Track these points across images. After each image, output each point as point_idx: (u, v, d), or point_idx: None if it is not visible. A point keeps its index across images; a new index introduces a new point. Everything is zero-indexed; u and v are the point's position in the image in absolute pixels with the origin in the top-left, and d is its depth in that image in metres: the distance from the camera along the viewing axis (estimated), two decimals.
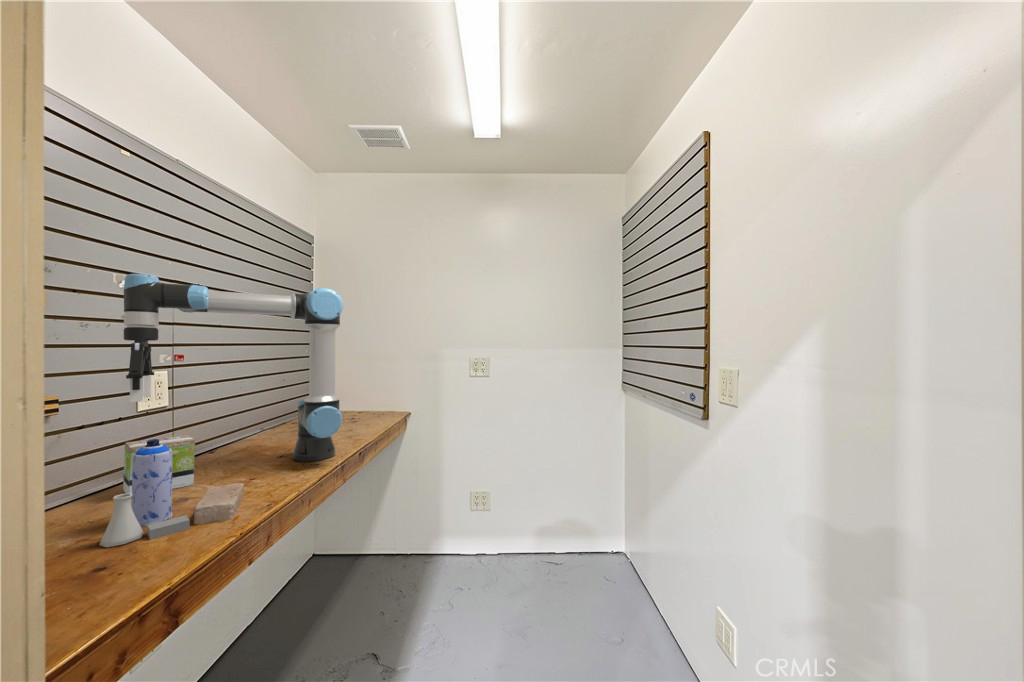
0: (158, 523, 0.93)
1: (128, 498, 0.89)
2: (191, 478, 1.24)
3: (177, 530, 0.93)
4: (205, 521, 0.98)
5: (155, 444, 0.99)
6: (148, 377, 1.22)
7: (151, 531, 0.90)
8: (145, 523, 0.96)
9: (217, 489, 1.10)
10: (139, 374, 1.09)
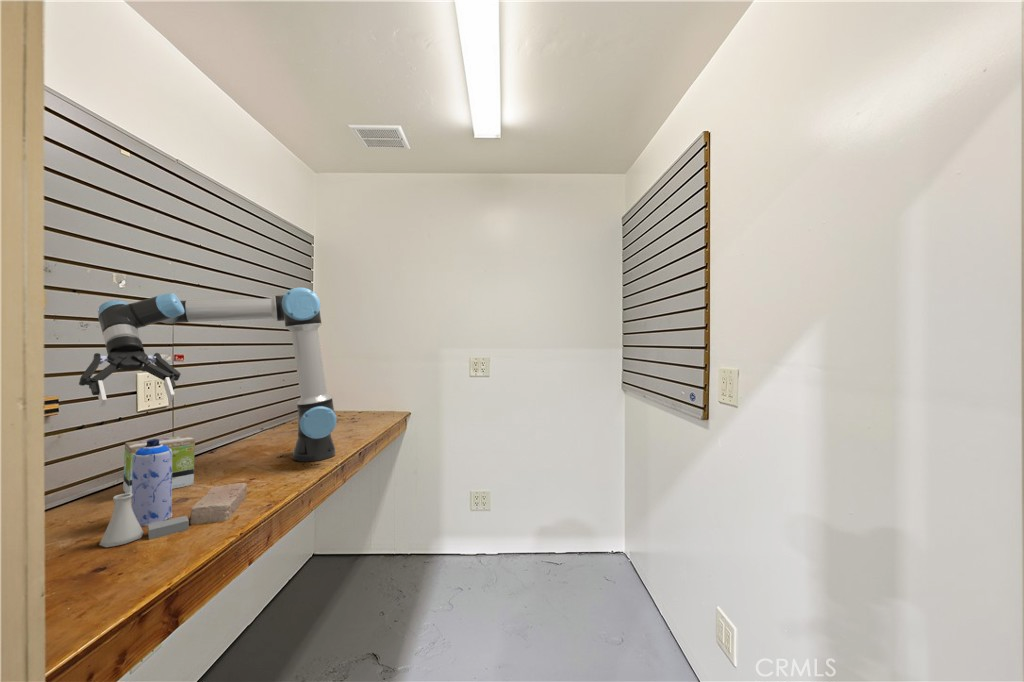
0: (158, 523, 0.93)
1: (128, 498, 0.89)
2: (191, 478, 1.24)
3: (176, 530, 0.93)
4: (201, 522, 0.98)
5: (155, 444, 0.99)
6: (165, 379, 1.13)
7: (150, 531, 0.90)
8: (145, 523, 0.96)
9: (220, 488, 1.10)
10: (81, 378, 1.00)
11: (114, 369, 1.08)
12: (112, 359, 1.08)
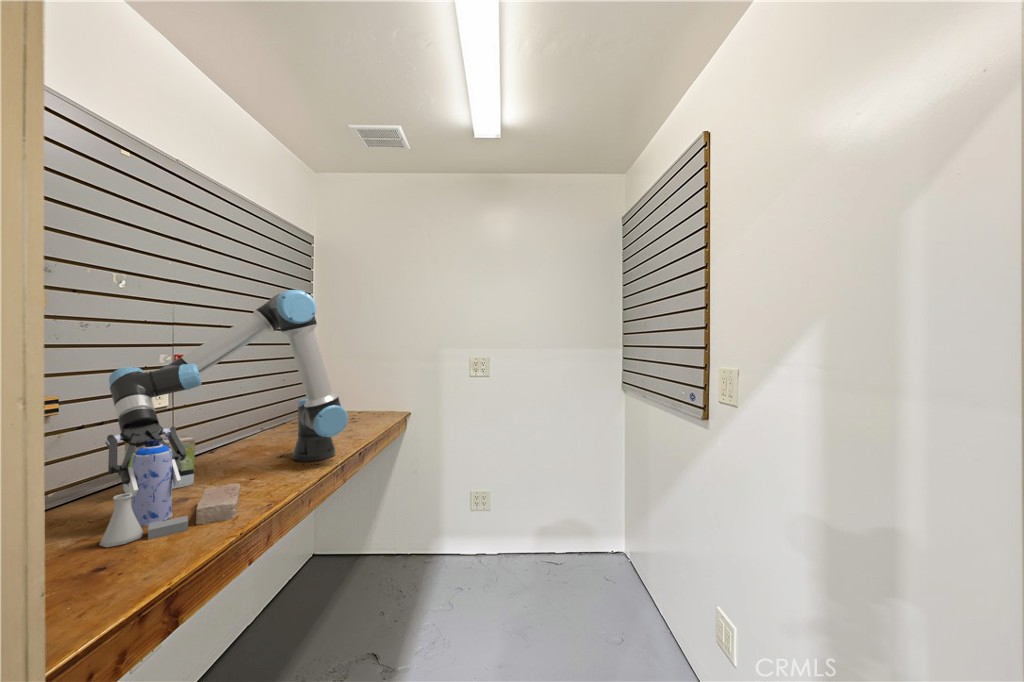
0: (159, 523, 0.93)
1: (128, 498, 0.89)
2: (191, 478, 1.24)
3: (175, 531, 0.93)
4: (207, 521, 0.98)
5: (155, 444, 0.99)
6: None
7: (149, 531, 0.90)
8: (145, 523, 0.96)
9: (214, 490, 1.09)
10: (111, 467, 0.95)
11: None
12: (127, 436, 1.01)
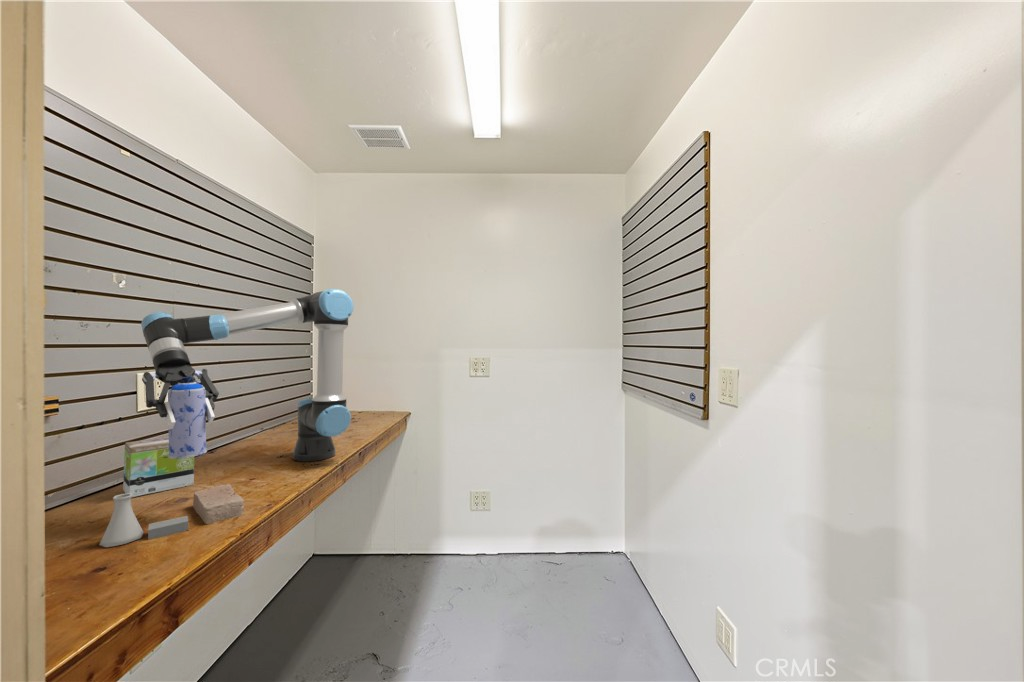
0: (159, 523, 0.93)
1: (128, 498, 0.89)
2: (191, 478, 1.24)
3: (175, 531, 0.93)
4: (217, 520, 0.99)
5: (189, 381, 1.02)
6: None
7: (149, 531, 0.90)
8: (182, 455, 0.99)
9: (206, 492, 1.07)
10: (149, 401, 0.97)
11: None
12: (162, 375, 1.04)
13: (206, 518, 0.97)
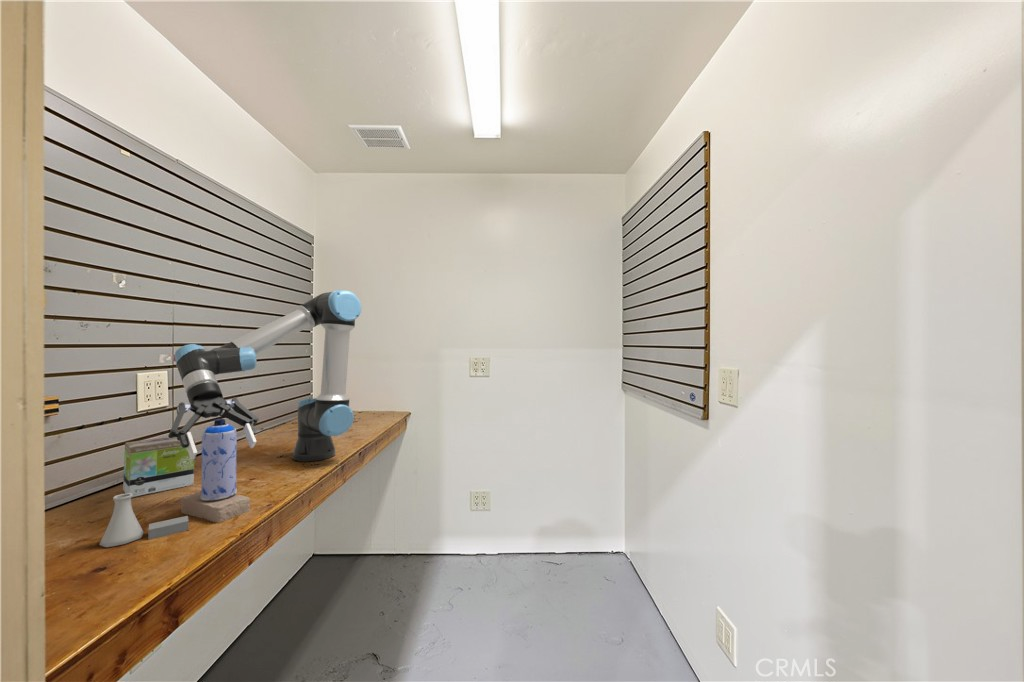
0: (159, 523, 0.93)
1: (128, 498, 0.89)
2: (191, 478, 1.24)
3: (176, 531, 0.93)
4: (228, 518, 1.00)
5: (222, 423, 1.05)
6: (246, 426, 1.12)
7: (149, 531, 0.90)
8: (215, 497, 1.02)
9: (197, 496, 1.05)
10: (170, 431, 0.99)
11: (198, 418, 1.07)
12: (195, 407, 1.07)
13: (218, 517, 0.98)
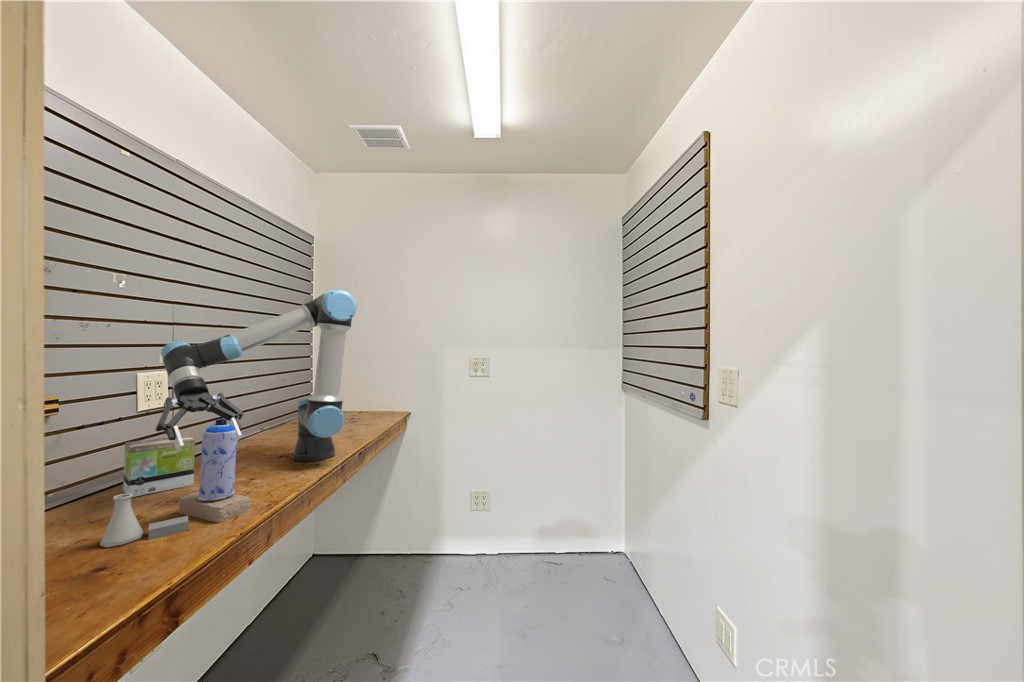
0: (159, 523, 0.93)
1: (128, 498, 0.89)
2: (191, 478, 1.24)
3: (176, 531, 0.93)
4: (229, 518, 1.00)
5: (223, 423, 1.05)
6: (231, 420, 1.17)
7: (149, 531, 0.90)
8: (212, 497, 1.01)
9: (195, 496, 1.05)
10: (158, 425, 1.04)
11: (184, 412, 1.11)
12: (182, 402, 1.12)
13: (219, 517, 0.98)
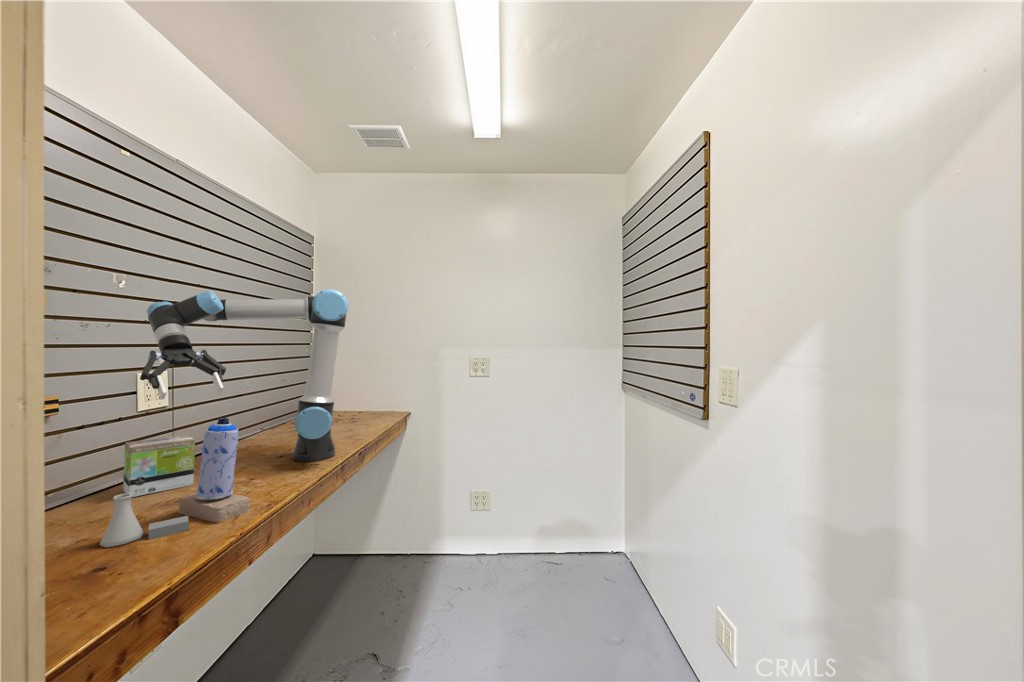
0: (159, 522, 0.93)
1: (128, 498, 0.89)
2: (191, 478, 1.24)
3: (176, 531, 0.93)
4: (228, 518, 1.00)
5: (226, 422, 1.06)
6: (214, 374, 1.22)
7: (149, 531, 0.90)
8: (211, 497, 1.01)
9: (195, 496, 1.05)
10: (142, 373, 1.09)
11: (168, 365, 1.17)
12: (166, 356, 1.17)
13: (218, 517, 0.98)
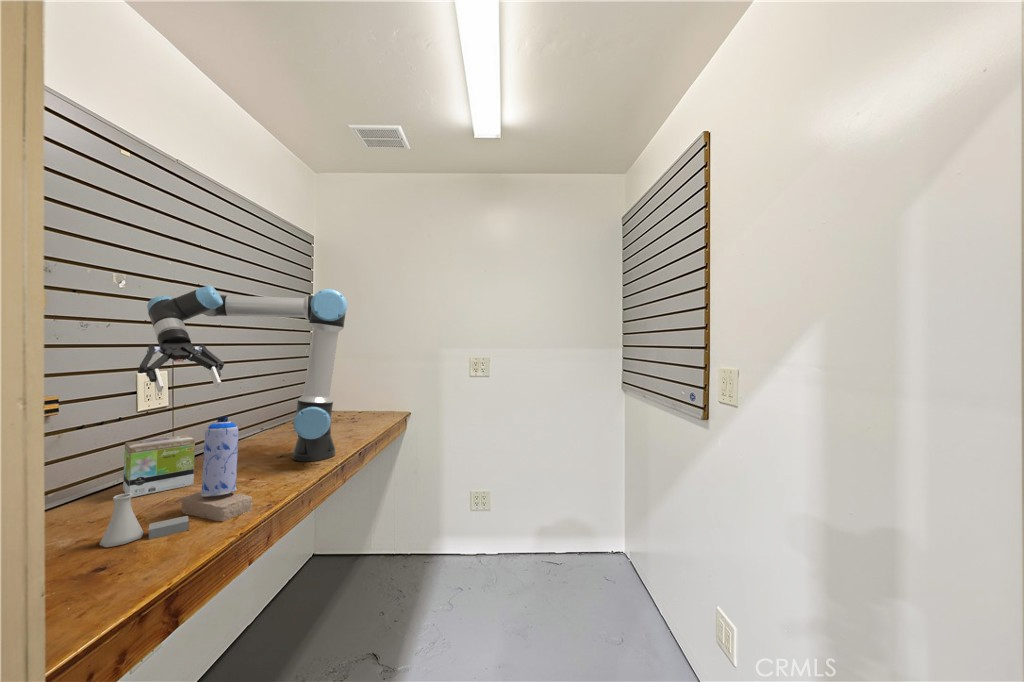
0: (159, 522, 0.93)
1: (128, 498, 0.89)
2: (191, 478, 1.24)
3: (176, 531, 0.93)
4: (232, 517, 1.01)
5: (225, 420, 1.08)
6: (212, 369, 1.23)
7: (149, 531, 0.90)
8: (216, 493, 1.03)
9: (198, 496, 1.05)
10: (140, 366, 1.10)
11: (166, 359, 1.17)
12: (164, 350, 1.18)
13: (222, 516, 0.99)
